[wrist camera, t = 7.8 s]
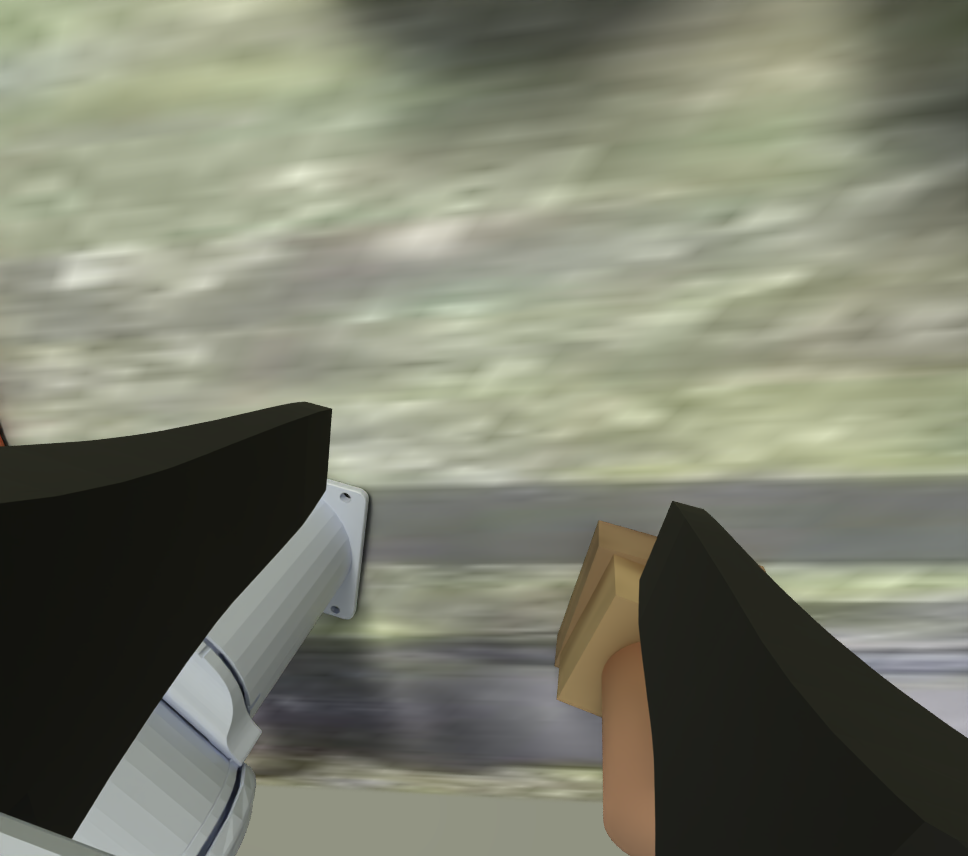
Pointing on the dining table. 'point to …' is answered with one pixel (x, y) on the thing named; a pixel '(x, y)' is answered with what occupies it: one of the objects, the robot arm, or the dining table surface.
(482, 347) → the dining table surface
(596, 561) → the tan square slab
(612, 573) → the oak top block
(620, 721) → the terracotta cylinder
